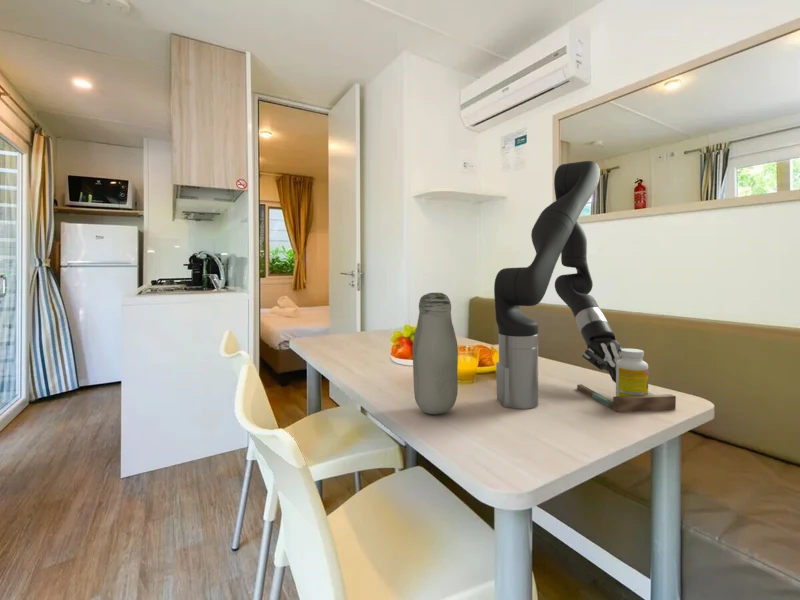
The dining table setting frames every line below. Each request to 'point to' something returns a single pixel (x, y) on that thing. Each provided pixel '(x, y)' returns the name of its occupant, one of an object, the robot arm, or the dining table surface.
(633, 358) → the supplement bottle
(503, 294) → the robot arm
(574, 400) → the dining table surface
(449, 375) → the grey bottle
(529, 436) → the dining table surface
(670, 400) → the frame
